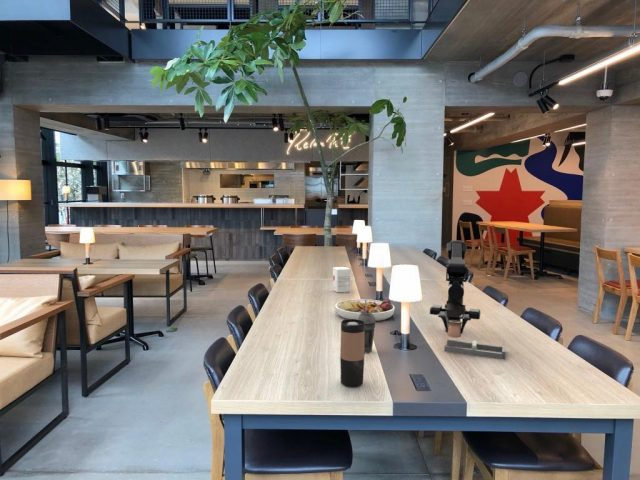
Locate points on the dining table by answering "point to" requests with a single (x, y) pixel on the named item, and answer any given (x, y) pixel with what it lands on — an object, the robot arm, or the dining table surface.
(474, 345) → the pusher plate
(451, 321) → the jar
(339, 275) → the supplement box
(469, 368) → the dining table surface
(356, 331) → the travel mug
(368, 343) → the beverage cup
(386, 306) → the bowl
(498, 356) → the lane
